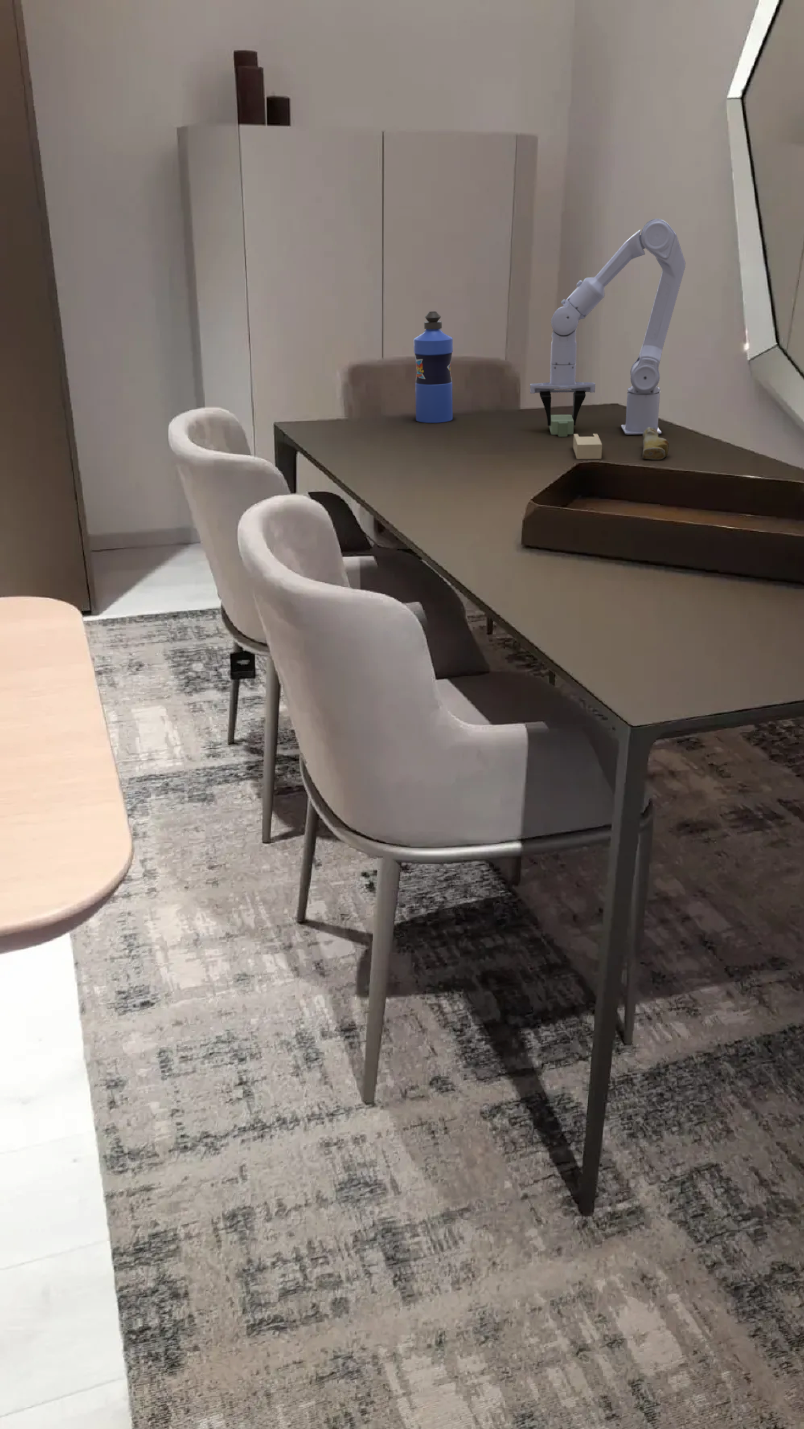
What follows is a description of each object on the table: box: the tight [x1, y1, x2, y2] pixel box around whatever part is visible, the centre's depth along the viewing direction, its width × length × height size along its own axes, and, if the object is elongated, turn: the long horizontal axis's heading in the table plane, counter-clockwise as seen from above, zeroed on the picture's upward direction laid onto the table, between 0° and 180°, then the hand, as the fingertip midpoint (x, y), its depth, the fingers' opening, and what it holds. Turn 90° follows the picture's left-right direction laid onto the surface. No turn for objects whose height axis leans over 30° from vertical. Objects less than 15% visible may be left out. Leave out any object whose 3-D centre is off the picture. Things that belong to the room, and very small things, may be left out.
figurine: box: [641, 427, 670, 461], centre depth 229 cm, size 5×5×15 cm
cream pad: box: [572, 433, 603, 460], centre depth 230 cm, size 11×5×3 cm, turn 176°
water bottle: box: [413, 310, 454, 424], centre depth 266 cm, size 9×9×25 cm
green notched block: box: [548, 414, 575, 438], centre depth 252 cm, size 10×5×3 cm, turn 176°
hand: (561, 425), depth 253 cm, fingers closed on green notched block, 5 cm apart
